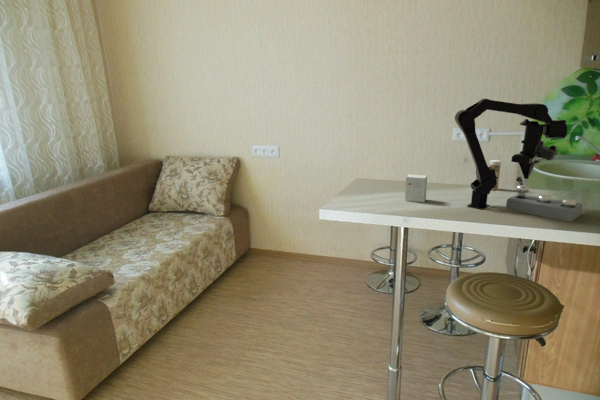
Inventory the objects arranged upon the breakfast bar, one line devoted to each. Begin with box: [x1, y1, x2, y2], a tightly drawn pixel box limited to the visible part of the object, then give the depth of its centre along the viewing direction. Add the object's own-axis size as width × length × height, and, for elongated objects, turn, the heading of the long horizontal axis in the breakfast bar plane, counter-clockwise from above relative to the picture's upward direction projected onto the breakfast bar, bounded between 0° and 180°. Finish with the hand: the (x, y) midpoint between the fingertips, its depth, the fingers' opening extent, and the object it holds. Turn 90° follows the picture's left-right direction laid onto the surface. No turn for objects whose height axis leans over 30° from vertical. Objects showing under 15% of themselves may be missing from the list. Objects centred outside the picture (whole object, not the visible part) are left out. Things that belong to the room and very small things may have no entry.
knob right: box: [561, 198, 577, 208], centre depth 147 cm, size 4×4×5 cm
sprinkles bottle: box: [489, 159, 502, 191], centre depth 187 cm, size 5×5×13 cm
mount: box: [505, 193, 583, 222], centre depth 154 cm, size 12×22×4 cm, turn 43°
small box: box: [404, 173, 428, 203], centre depth 171 cm, size 8×6×10 cm
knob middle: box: [537, 194, 552, 203], centre depth 153 cm, size 4×4×5 cm
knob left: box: [515, 184, 530, 199], centre depth 158 cm, size 4×4×5 cm
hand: (526, 178), depth 156 cm, fingers closed
